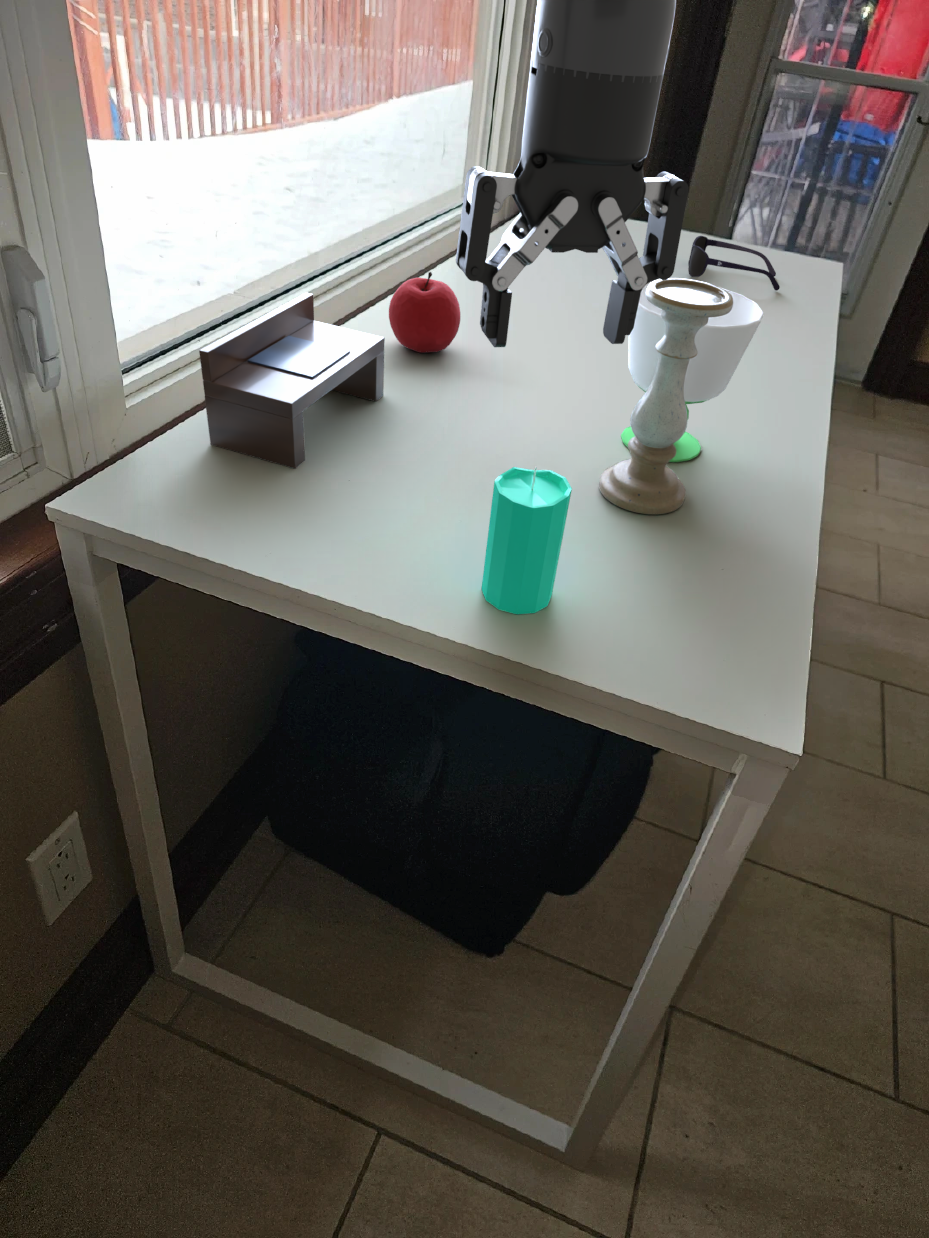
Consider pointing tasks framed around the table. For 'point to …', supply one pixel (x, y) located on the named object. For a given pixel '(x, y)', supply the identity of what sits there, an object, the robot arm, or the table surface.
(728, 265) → the sunglasses
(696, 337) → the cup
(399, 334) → the apple
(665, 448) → the candle holder
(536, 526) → the candle
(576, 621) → the table surface
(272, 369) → the shelf
